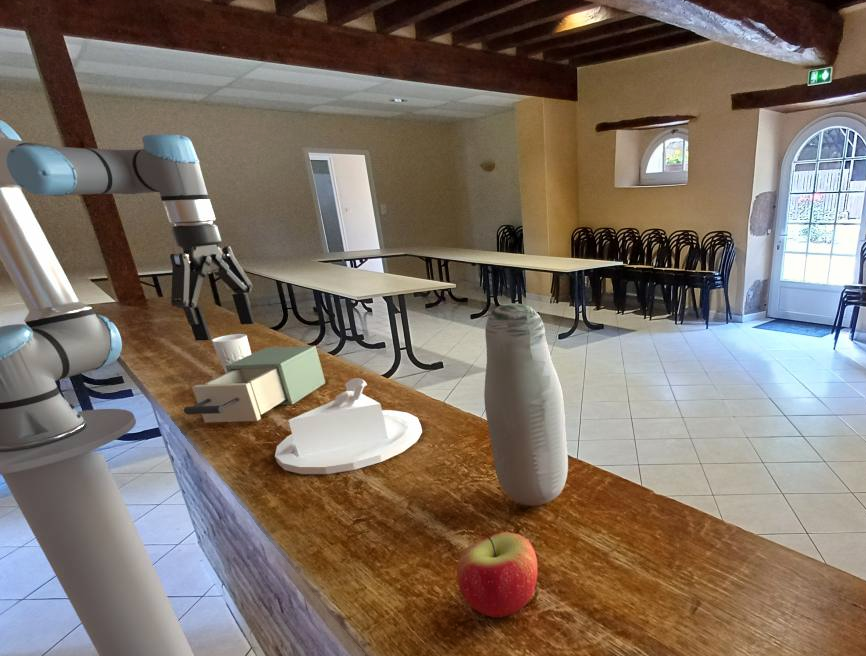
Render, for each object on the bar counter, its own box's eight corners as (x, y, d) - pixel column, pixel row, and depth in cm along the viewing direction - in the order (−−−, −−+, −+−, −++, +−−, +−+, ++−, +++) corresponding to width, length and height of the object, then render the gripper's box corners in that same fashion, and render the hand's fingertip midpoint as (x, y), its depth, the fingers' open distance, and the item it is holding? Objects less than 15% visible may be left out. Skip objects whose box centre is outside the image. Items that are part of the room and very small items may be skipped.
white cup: (221, 374, 149) (209, 338, 145) (253, 367, 154) (243, 332, 150) (227, 380, 143) (214, 343, 139) (260, 373, 148) (249, 336, 144)
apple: (457, 637, 55) (441, 556, 52) (471, 582, 63) (457, 507, 59) (539, 630, 56) (529, 549, 52) (543, 576, 64) (534, 501, 60)
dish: (386, 407, 118) (375, 356, 114) (445, 437, 101) (435, 379, 97) (260, 446, 103) (241, 389, 98) (305, 490, 86) (285, 423, 82)
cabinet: (292, 404, 123) (280, 363, 119) (238, 406, 124) (225, 365, 120) (325, 383, 137) (315, 345, 133) (277, 384, 137) (265, 347, 134)
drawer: (237, 433, 107) (224, 395, 104) (181, 435, 108) (167, 397, 105) (294, 397, 125) (285, 364, 122) (246, 399, 126) (236, 366, 123)
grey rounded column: (584, 495, 80) (569, 301, 69) (528, 526, 73) (501, 317, 62) (541, 474, 86) (521, 294, 75) (486, 501, 80) (456, 308, 69)
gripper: (219, 220, 119) (248, 318, 127) (120, 229, 96) (163, 348, 104) (252, 219, 118) (279, 317, 126) (161, 228, 95) (200, 347, 103)
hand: (227, 331), depth 115 cm, fingers open, 13 cm apart
